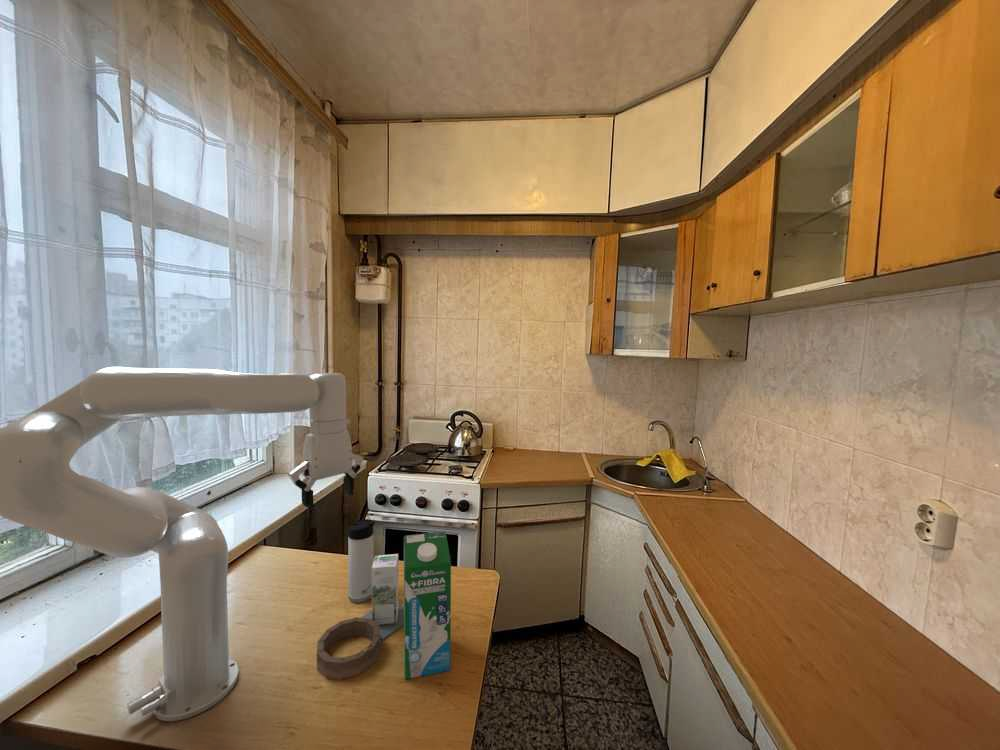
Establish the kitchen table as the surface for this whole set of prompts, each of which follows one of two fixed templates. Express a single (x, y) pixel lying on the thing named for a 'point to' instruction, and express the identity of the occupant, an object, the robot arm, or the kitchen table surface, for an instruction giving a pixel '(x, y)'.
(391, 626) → the mat
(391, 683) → the kitchen table surface
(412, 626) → the milk carton
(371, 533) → the travel mug
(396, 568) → the syrup box
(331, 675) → the collar
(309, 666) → the kitchen table surface
